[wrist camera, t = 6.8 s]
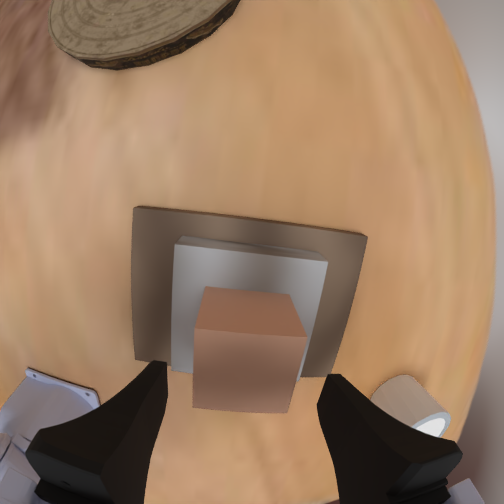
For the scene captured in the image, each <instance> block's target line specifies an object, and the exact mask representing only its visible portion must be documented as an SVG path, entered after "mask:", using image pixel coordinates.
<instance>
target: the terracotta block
mask: <svg viewBox="0 0 504 504" xmlns="http://www.w3.org/2000/svg"><path fill="white" fill-rule="evenodd" d="M307 338H308V337H307V335H306V332H305V330H304V328H303V325H302V323H301V321H300V318H299V316H298V314H297V311H296V309H295V307H294V304H293V302H292V300H291V297H290V295H289V294H280V293H269V292H258V291H248V290H237V289H228V288H218V287H209V286H205V290H204V294H203V297H202V301H201V305H200V309H199V313H198V316H197V320H196V324H195V328H194V355H193V408H202V409H211V410H222V411H235V412H253V413H287V411H288V408H289V405H290V401H291V398H292V394H293V391H294V387H295V384H296V380H297V376H298V373H299V369H300V365H301V361H302V358H303V354H304V350H305V346H306V342H307Z"/></svg>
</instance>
